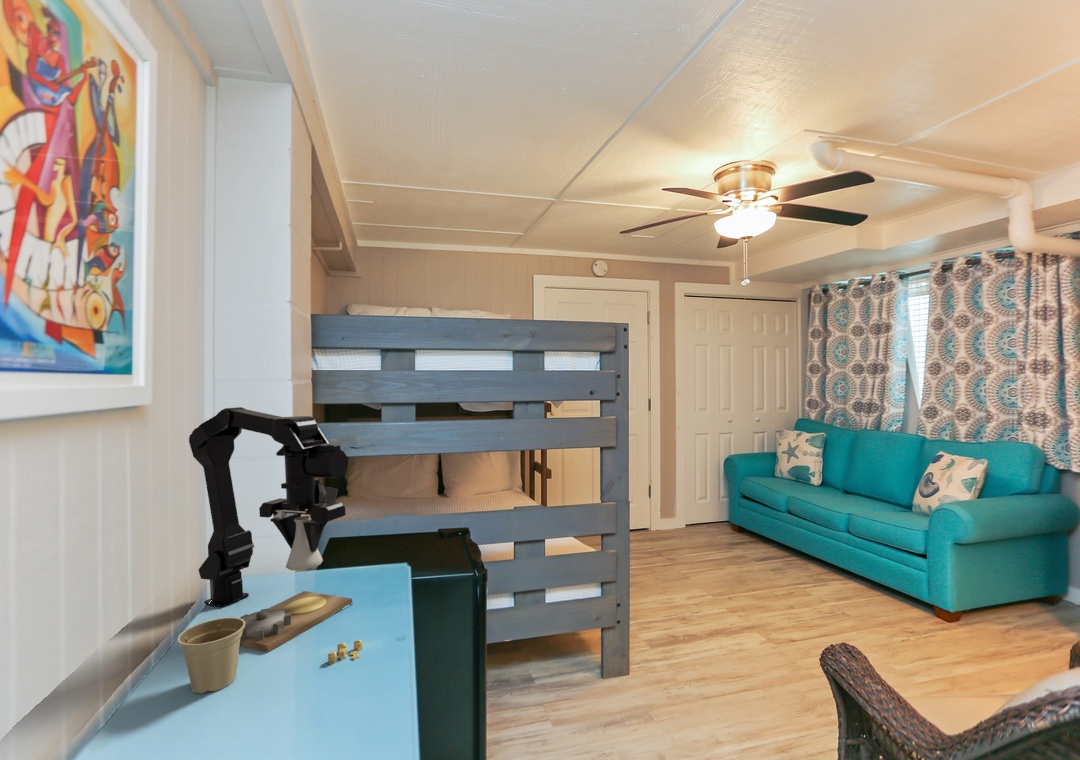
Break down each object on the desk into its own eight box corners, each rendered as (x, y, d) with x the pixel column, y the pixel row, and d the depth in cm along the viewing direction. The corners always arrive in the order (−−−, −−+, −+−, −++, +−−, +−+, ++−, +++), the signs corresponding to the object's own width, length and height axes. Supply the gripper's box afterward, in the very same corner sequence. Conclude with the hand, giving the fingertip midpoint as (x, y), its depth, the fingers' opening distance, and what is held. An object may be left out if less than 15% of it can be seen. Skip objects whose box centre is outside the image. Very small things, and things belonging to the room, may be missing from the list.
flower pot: (260, 667, 90) (257, 616, 90) (222, 701, 81) (219, 644, 81) (208, 666, 91) (206, 616, 91) (165, 700, 82) (162, 644, 82)
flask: (286, 574, 107) (284, 524, 107) (284, 563, 114) (282, 517, 114) (325, 566, 111) (322, 518, 111) (321, 556, 117) (319, 511, 117)
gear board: (212, 641, 100) (211, 619, 100) (304, 596, 120) (303, 577, 120) (265, 653, 95) (264, 630, 95) (352, 604, 115) (351, 584, 115)
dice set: (327, 668, 90) (326, 656, 90) (335, 652, 95) (335, 642, 95) (357, 665, 91) (357, 653, 91) (364, 650, 96) (364, 639, 96)
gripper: (362, 471, 116) (365, 542, 116) (298, 468, 123) (301, 535, 123) (323, 481, 106) (326, 559, 106) (256, 477, 113) (259, 551, 113)
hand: (303, 550), depth 112 cm, fingers closed on flask, 5 cm apart
